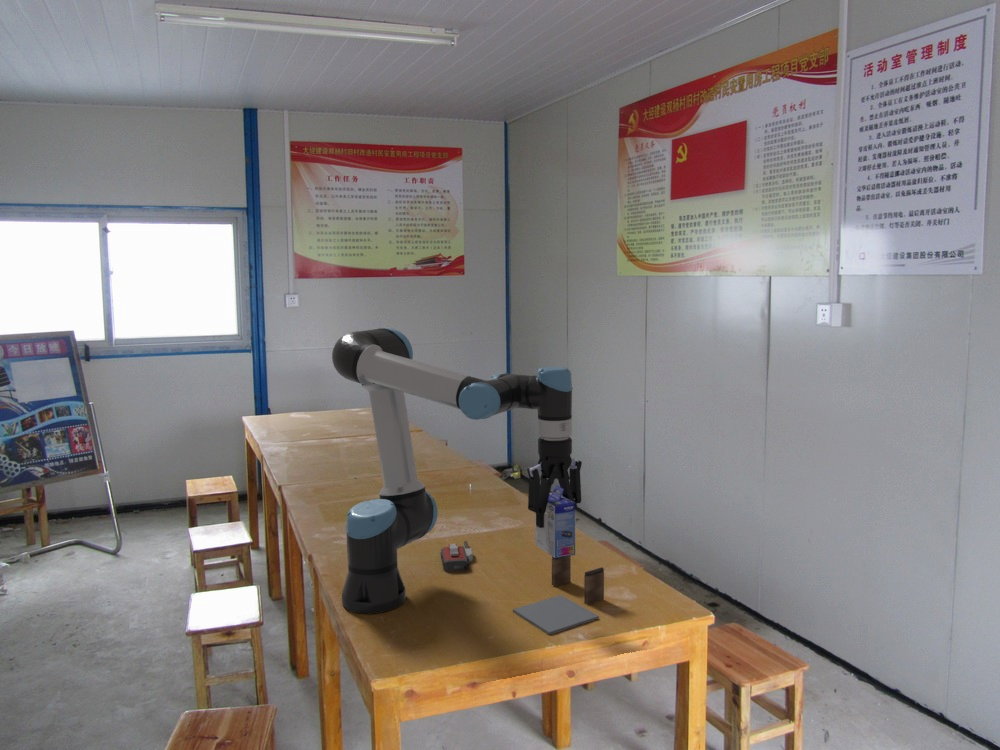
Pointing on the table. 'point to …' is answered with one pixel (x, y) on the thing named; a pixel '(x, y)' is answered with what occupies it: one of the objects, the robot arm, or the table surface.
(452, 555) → the walkie-talkie
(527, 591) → the table surface
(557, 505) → the ink cartridge box
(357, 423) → the table surface
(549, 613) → the grey mat
